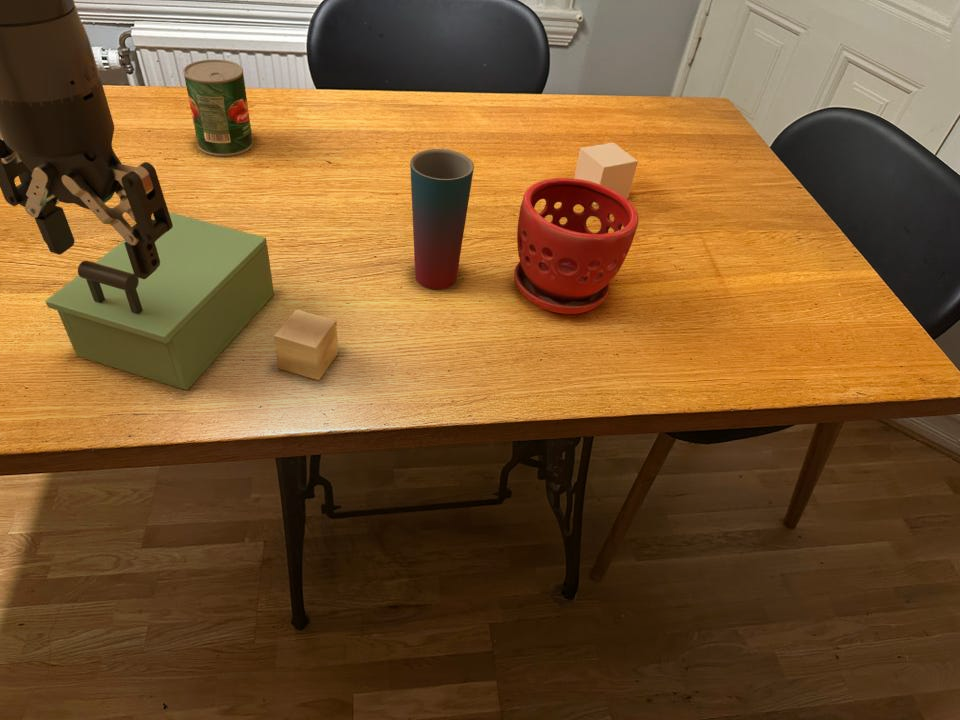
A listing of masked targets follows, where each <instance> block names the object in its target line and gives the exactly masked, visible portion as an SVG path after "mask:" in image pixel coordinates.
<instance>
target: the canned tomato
mask: <svg viewBox="0 0 960 720" xmlns="http://www.w3.org/2000/svg"><path fill="white" fill-rule="evenodd" d="M182 73H183V76H184V82H185V86H186V91H187V97H188V102H189V108H190V112H191V116H192V122H193V128H194V132H195V137H196V143H197V148H198V149H199V150H200V151H201V152H203V153H204V154H207V155H210V156H215V157H233V156H238V155H242V154H244V153H246V152H248V151H250V149H252V148H253V145H254V139H253V134H252V127H251V118H250V112H249V104H248V97H247V91H246V84H245V78H244V77H245V76H244V69H243V66H241V65H240V64H238V63H236V62H234V61H230V60H227V59H226V60H225V59H203V60H202V59H201V60H197V61H193V62H191V63H188V64H187V65H186V66H185V67H184V68H183V69H182Z"/></svg>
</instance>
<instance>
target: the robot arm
mask: <svg viewBox="0 0 960 720" xmlns="http://www.w3.org/2000/svg"><path fill="white" fill-rule="evenodd" d="M114 133H115V123H114V120H113V116H112V113H111V110H110V107H109V102H108V99H107V95H106V93H105V89H104V85H103V82H102V77H101V75H100V72H99V68H98V64H97V61H96V58H95V55H94V51H93V47H92V44H91V41H90V38H89V35H88V33H87V29H86V28H85V26H84V24H83V22H82V19H81V17H80V14H79V12H78V9H77V6H76V4H75V0H0V190H1V193H2V196H3V198H4V200H5V201H6V203H8V205H10V206H12V207H16V206H18V205H19V206H22V207H23V208H24V210H25V212H26V213H27V214H28V215H29V216H30V217H31V218H33V219H34V220H35V223H36V225H37V228H38V230H39V233H40V235H41V237H42V240H43V241H44V243H45V244H46V246H47V248H48V251H49V252H50V253H52V254H55V255H59V256H60V255H63V254H64V253H65V252H67V251H68V250H69V249H71V248H72V247H74V245H75V237H74V235H73V232H72V229H71V227H70V224H69V221H68V219H67V216H66V214H65V211H64V208H63V207H61V206H58V205H59V204H60V202H61V203H64V204H74V205H76V206H78V207H81V208H83V209H86V210H90V211H91V212H92V213H93V215H95V217H96V218H97V219H98V220H99V221H100V222H102V224H104V225H110V226H112V228H114V230H115V231H116V233H118V234H119V235H120V236H121V238H123V240H125V241H126V242H125V243H124V244H125V247H126V250H127V253H128V256H129V259H130V263H131V266H132V269H133V272H134V275H135V277H138V278H141V279H146V278H147V277H149V276H150V275H151V274H152V273H153V272H154V271H156V269H157V268H158V267H159V266H160V259H159V255H158V253H157V248H156V245H155V242H156V241H157V239H159V238H160V237H161V236H162V235H163V234H165V233H166V232H168V231H169V230H170V229H172V227H173V224H172V221H171V218H170V215H169V212H170V211H169V209H168V205H167V203H166V199H165V195H164V193H163V190H162V186H161V183H160V180H159V177H158V173H157V170H156V168H155V166H154V165H152V163H150V162H148V161H144V162H142V163H141V164H140V165H137V166H133V165H129V164H124V163H122V161H121V160H120V159H119V158H118V156H117V155H116V153H115V151H114V149H113V139H114ZM17 177H18V179H19V181H20V183H19V184H18V185H16V182H15V181H16V180H15V179H16V178H17ZM115 194H116V195H117V197H119V203H118V204H117V205H115V206H114V207H109V206H108V205H106V203H107V202H108V201H111V200H112V198H113V197H114V195H115ZM124 213H126V214H127V215H128V216H129V217H130V218H131V219H132V220H133V221H134V222H135V224H134V225H131V224H130V223H129V222H128V221H127V220H126V218H124ZM152 216H153V218H155V219H154V220H152V219H153V218H152Z"/></svg>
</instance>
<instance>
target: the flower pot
mask: <svg viewBox="0 0 960 720" xmlns="http://www.w3.org/2000/svg"><path fill="white" fill-rule="evenodd" d="M542 200H544V201H545V206H544V208H543V209H542V210H541V211H540V212H538V211H537V210H536V209H535V207H536V205H537V203H538V202H539V201H542ZM593 202H595V203H597V204H598V205H597V206H598V207H597V208H594V207H593ZM557 203H561V205H560V206H559V207H558V208H556V207H555V205H556V204H557ZM578 205H579V206H581V207H582V208H583V210H582V211H581V212H576V211H575V210H574V208H575V206H578ZM611 215H612V216H613V220H611V218H610V216H611ZM547 216H551V217H552V218H551V221H548V220H547V219H545V218H546V217H547ZM590 217H595V218H597V219H598V220H599V222H600V228H599V230H598V231H597V232H594V231H593V232H592V230H590V229H589V227H588V226H587V221H588V219H589V218H590ZM562 218H566V222H565V223H563V224H562V223H561V222H560V221H561V219H562ZM638 226H639V214H638V211H637V209H636V207H635V206H634V205H633V204H632V203H631V201H630V200H629V199H628V198H627V199H626V198H625V197H624V196H622V195H621V194H619V193H618V192H616V191H614V190H612V189H610V188H608V187H605V186H603V185H600V184H597V183H594V182H590V181H586V180H581V179H574V178H570V177H555V178H554V177H553V178H548V179H543V180H540V181H538V182H535V183H533V184H532V185H530V186H529V187H528V188H527V189H526V190H525V192H524V194H523V197H522V200H521V204H520V209H519V213H518V220H517V230H516V231H517V232H516V233H517V235H516V241H517V244H516V245H517V253H518V254H517V255H518V258H519V261H518V262H517V264H516V265H515V268H514V272H513V277H514V278H513V279H514V283H515V285H516V288H517V289H518V290H519V292H520V293H521V295H523V296H524V297H525V298H526V299H527V300H528V301H529V302H530V303H532V304H534V305H535V306H537V307H539V308H541V309H544V310H546V311H549V312H552V313H556V314H557V313H558V314H564V315H566V314H567V315H575V314H582V313H586V312H589V311H591V310H594V309H596V308H598V307H599V306H600V305H602V304H603V303H604V301H605V300H606V299H607V298H608V296H609V294H610V291H611V288H610V287H611V284H610V283H611V282H612V280H613V279H614V278H615V277H616V275H617V274H618V273H619V271H620V269H621V267H622V266H623V264H624V262H625V260H626V258H627V256H628V255H629V254H628V253H629V251H630V249H631V247H632V244H633V242H634V239H635V235H636V232H637V229H638ZM622 227H623V228H622ZM610 229H612V230H613V232H612V231H611V232H609V230H610Z"/></svg>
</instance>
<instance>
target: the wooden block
mask: <svg viewBox="0 0 960 720" xmlns="http://www.w3.org/2000/svg"><path fill="white" fill-rule="evenodd" d="M273 338H274V345H275V350H276V351H275V352H276V359H277V365H278V369H279V370H281V371H285V372H289V373H292V374H294V375H299V376H303V377H305V378H309V379H313V380H316V381H320V380H321V378H322V377H323V375H324V374H325V373H326V372H327V370H328V368H329V367H330V366H331V364H332V363H333V361H334V360H335V358H336V357H337V356H338V354H339V340H338V325H337V320H335V319H332V318H328V317H325V316H322V315H318V314H313V313H310V312H308V311H304V310H301V309H295V310H294V311H293V313H292V314H291V315H290V316H289V317H288V319H287V320H286V321H285V322H284V323H283V324H282V326H281V327H280V328H279V329H278V330H277V331H276V333H275V334H274V336H273Z"/></svg>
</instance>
